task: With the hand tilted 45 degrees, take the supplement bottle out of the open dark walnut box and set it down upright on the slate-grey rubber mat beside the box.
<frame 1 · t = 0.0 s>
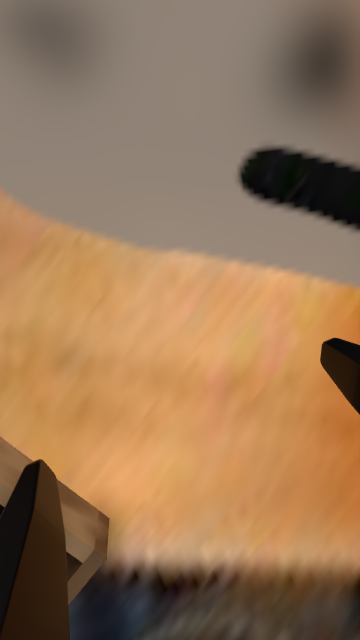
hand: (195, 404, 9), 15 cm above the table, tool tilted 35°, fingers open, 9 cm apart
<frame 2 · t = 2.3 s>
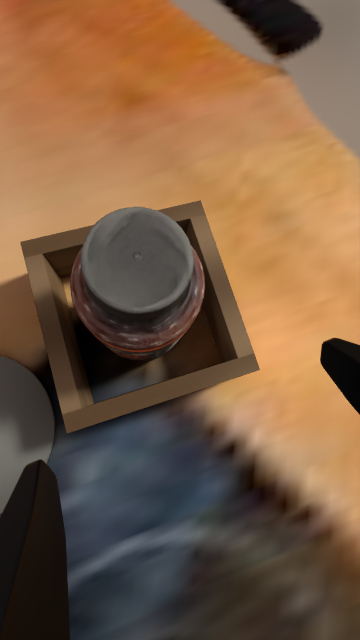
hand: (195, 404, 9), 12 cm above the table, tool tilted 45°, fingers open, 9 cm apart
supplement bottle: (141, 320, 22), resting in walnut box
walnut box: (141, 319, 22), on the table
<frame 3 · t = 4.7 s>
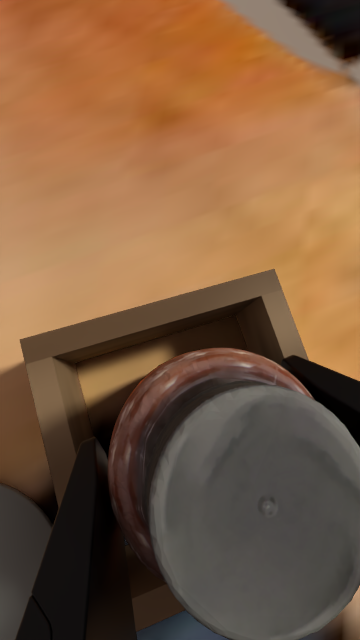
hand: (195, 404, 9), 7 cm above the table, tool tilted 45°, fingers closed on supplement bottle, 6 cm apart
supplement bottle: (183, 420, 16), resting in walnut box, touching gripper
walnut box: (183, 420, 16), on the table
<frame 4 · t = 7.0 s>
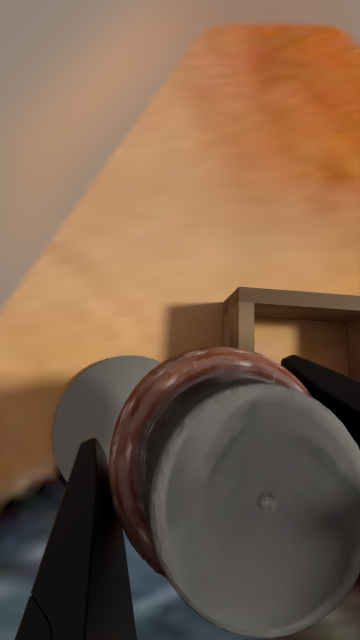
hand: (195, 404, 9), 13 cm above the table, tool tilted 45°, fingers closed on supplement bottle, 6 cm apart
supplement bottle: (183, 418, 16), point 6 cm above the table, touching gripper
rubber mat: (129, 428, 22), on the table
walnut box: (294, 377, 24), on the table
when the fingers open (8 cm above the table, at t = 9.3 s): supplement bottle stays where it is, resting on rubber mat.
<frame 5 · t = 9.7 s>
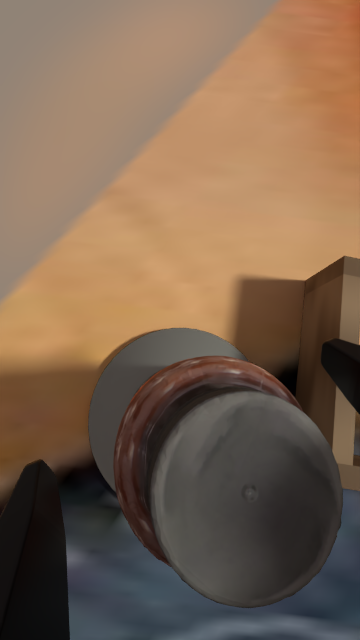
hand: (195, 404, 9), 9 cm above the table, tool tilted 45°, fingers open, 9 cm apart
supplement bottle: (182, 420, 17), resting on rubber mat
rubber mat: (181, 417, 18), on the table
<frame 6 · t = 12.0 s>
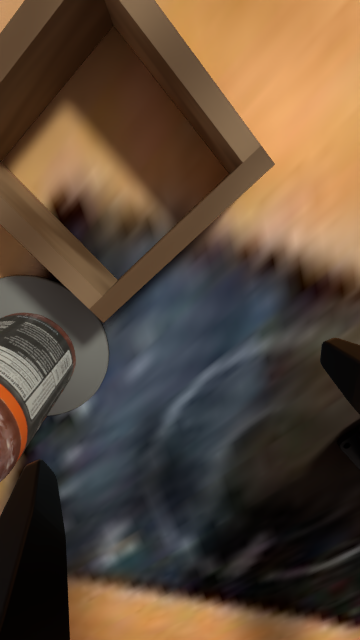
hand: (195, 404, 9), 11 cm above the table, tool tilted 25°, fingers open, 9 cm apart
supplement bottle: (35, 351, 21), resting on rubber mat
rubber mat: (34, 349, 21), on the table
walnut box: (115, 167, 17), on the table
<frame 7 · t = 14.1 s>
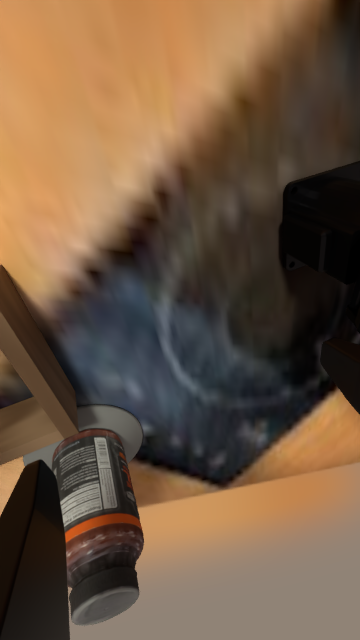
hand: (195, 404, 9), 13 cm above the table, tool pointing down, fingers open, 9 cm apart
supplement bottle: (87, 446, 28), resting on rubber mat
rubber mat: (86, 445, 28), on the table
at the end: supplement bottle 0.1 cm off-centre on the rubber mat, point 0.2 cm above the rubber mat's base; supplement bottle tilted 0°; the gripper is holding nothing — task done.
